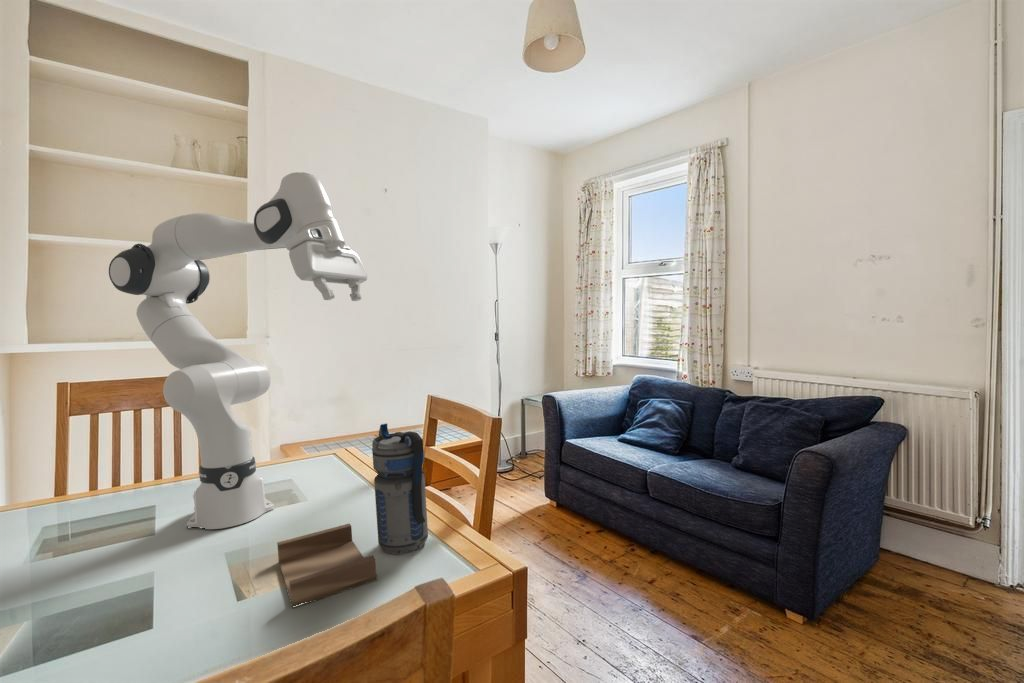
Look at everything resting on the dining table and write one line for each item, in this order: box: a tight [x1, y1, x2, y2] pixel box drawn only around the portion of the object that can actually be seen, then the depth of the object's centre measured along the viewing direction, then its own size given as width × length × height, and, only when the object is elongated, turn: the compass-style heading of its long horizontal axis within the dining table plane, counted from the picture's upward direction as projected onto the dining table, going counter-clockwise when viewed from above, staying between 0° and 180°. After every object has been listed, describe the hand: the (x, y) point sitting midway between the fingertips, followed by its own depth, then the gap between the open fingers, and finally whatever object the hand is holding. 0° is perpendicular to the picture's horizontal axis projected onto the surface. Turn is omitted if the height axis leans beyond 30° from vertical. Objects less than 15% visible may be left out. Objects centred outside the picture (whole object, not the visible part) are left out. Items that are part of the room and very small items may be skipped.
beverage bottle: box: [371, 423, 429, 555], centre depth 99 cm, size 10×13×25 cm
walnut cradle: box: [276, 523, 378, 608], centre depth 91 cm, size 19×14×4 cm
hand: (343, 299), depth 105 cm, fingers open, 8 cm apart
